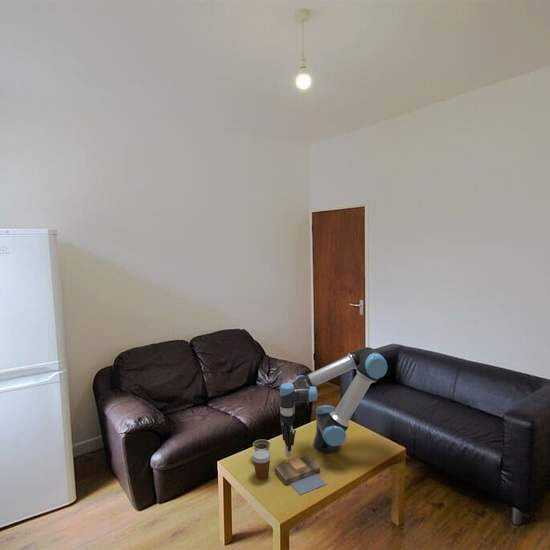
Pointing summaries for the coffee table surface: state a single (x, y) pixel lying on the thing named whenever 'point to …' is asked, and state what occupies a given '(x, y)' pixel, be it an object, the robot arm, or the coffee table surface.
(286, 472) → the brown flat slab
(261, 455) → the disposable coffee cup
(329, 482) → the coffee table surface
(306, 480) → the mat
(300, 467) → the orange brown flat block
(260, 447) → the clear plastic cup
